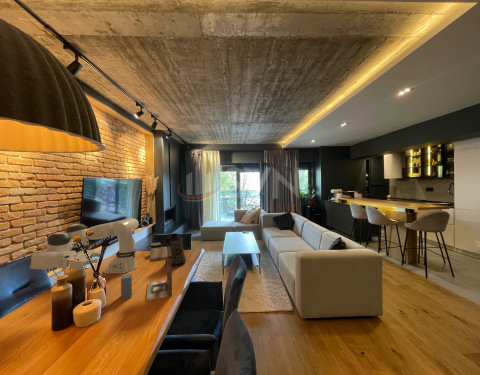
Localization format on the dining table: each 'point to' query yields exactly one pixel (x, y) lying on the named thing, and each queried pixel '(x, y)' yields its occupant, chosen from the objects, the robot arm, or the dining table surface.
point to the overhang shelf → (164, 287)
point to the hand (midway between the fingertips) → (99, 257)
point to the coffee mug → (155, 245)
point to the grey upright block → (126, 286)
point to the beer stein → (175, 249)
